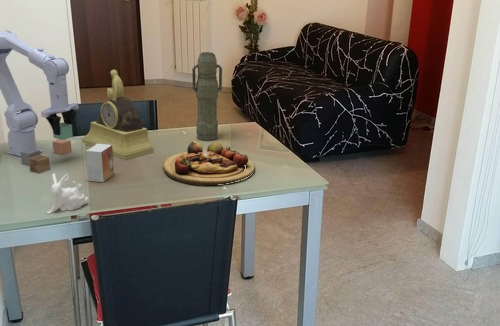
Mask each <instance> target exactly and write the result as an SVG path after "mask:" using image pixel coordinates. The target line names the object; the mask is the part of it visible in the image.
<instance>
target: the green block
mask: <svg viewBox="0 0 500 326" xmlns="http://www.w3.org/2000/svg"><path fill="white" fill-rule="evenodd" d="M52 135H53V138H54V139H56V140H59V139H61V140H64V139H66V140H68V139H70V138H73V137H74V136H73V124H72V125H71V124H67V123H64V122H60V135H55V134H54V132H53V131H52Z"/></svg>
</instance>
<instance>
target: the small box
mask: <svg viewBox="0 0 500 326" xmlns="http://www.w3.org/2000/svg"><path fill="white" fill-rule="evenodd" d="M85 158H86V161H85V162H86V169H87V171H86V172H87V180H88V182H96V183H97V182H98V183H99V182H100V183H104V182H106V181H107V180H108V179H110V178H111V177H113V176H114V174H115V169H114V156H113V150H112V145H107V144H96V145H95V146H93V147H91V146H90V148H88V149H86V150H85Z"/></svg>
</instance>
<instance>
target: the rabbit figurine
mask: <svg viewBox="0 0 500 326" xmlns="http://www.w3.org/2000/svg"><path fill="white" fill-rule="evenodd" d="M51 176H52V177H51V178H52V182H53V184H52V185H51V189H50V193H51V195H52V200H53V201H54V202H53V204H52V206H51V208H50V209H49V210H48V211H46V212H45V214H47V215H50V214H53V213H55V212H56V211H58V209H59V210H60V212H64V211H73V210H76V209H80V208H82V206H84V205H86V204H87V203H88V202H89V197H88V196H85V193H82V191H81V190H83V189H84V188H83V184H81V183H79V182H78V181H76V180H72V181H71V182H72V183H73V184H75V186H74V187H70V186H69V187H63V186H62V185H63V184H64V183H65V182H67V181H68V180H69V178H70V175H69V174H68V173H66V174H64V176H62V178H60V180H59V181H58V179H57V175H56V173H52V174H51Z"/></svg>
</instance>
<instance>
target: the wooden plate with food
mask: <svg viewBox="0 0 500 326" xmlns="http://www.w3.org/2000/svg"><path fill="white" fill-rule="evenodd" d="M244 165H246V170H245V171H244V169H245V166H244ZM162 169H163V170H164V171H163V172H164V173H165V174H166V175H167V176H168V177H170V178H172V179H173V180H175V181H178V182H180V183H184V184H188V183H189V184H188V185H194V184H197V185H196V186H203V185H218V184H226V183H231V182H235V181H238V180H241V179H244V178H246V177H248V176H250V175H251V174H252V173H253V172H254V173H255V171H256V166H255V163H254V162H253V161H252V160H251V159H249V156H248V155H246V154H240V152H238V151H237V150H231V147H230V146H225V147H224V146H223V145H222V144H221V143H219V142H218V141H214V142H212V143H211V144H209V145H208V146H207V149H203V146H202V145H201V143H200V142H198V141H196V140H193V141H191V142H190V143H189V144H188V146H187V150H186V151H184V152H180V153H176V154H174V155H171V156H169V157H168V158H167V159H166V160H165V161H164V163H163V166H162ZM254 170H255V171H254ZM254 173H253V174H254Z"/></svg>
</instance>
